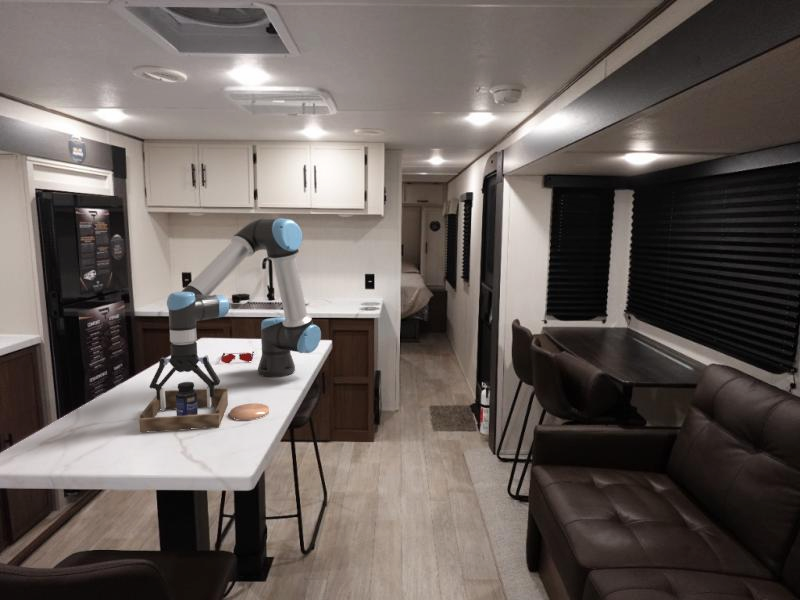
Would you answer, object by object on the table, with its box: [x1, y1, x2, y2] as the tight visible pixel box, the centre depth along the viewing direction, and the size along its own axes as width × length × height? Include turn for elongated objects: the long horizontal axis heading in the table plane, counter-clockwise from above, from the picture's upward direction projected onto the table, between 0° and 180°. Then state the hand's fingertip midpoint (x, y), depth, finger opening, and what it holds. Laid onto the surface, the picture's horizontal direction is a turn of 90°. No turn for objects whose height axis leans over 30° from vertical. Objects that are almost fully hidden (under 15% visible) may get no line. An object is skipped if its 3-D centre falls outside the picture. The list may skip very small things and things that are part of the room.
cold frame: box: [138, 387, 229, 433], centre depth 154 cm, size 22×20×6 cm
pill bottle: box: [176, 381, 199, 416], centre depth 153 cm, size 6×6×11 cm
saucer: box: [229, 402, 270, 421], centre depth 158 cm, size 12×12×1 cm
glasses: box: [220, 351, 255, 364], centre depth 225 cm, size 14×16×5 cm
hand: (186, 408), depth 154 cm, fingers open, 13 cm apart
